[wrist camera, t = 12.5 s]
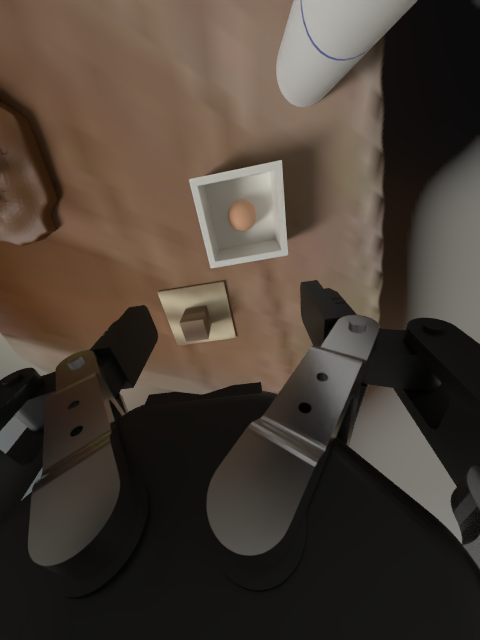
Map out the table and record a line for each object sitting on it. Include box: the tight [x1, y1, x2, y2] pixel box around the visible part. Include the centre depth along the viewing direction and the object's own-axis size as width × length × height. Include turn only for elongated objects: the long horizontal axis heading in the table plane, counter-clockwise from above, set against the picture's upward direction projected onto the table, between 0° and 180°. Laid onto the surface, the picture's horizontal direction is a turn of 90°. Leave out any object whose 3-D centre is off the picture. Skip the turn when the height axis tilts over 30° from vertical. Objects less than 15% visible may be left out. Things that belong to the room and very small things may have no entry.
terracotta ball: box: [228, 200, 256, 231], centre depth 32 cm, size 4×4×4 cm
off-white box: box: [189, 160, 288, 268], centre depth 31 cm, size 11×11×7 cm
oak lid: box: [157, 281, 236, 345], centre depth 41 cm, size 12×12×6 cm
